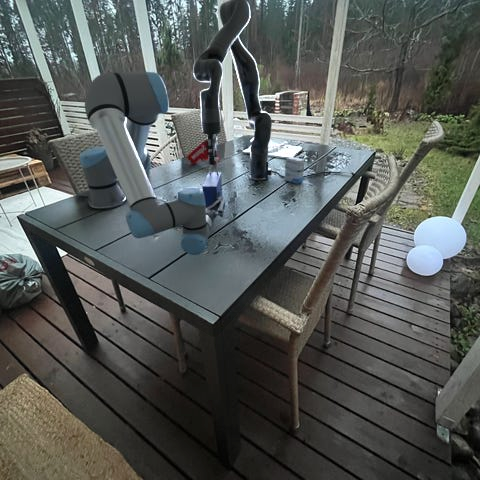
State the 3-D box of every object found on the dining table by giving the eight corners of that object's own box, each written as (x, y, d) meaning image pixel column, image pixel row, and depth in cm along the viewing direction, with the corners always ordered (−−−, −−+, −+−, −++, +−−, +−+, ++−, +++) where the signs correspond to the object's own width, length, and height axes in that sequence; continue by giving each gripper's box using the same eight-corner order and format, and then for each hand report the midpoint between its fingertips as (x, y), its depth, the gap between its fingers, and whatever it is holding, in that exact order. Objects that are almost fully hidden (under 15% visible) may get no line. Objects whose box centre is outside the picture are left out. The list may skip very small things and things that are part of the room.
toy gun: (224, 159, 165) (208, 138, 162) (221, 161, 162) (205, 139, 158) (204, 174, 175) (189, 154, 172) (201, 176, 172) (186, 156, 168)
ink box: (302, 181, 142) (305, 159, 136) (297, 184, 139) (300, 161, 133) (289, 177, 147) (291, 156, 141) (284, 180, 144) (285, 158, 138)
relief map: (291, 159, 177) (291, 151, 174) (243, 153, 190) (243, 145, 187) (302, 149, 197) (303, 142, 194) (258, 144, 211) (258, 137, 208)
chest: (210, 197, 127) (208, 175, 121) (222, 197, 127) (221, 175, 121) (204, 212, 113) (202, 189, 107) (217, 213, 113) (216, 189, 107)
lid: (209, 174, 122) (207, 155, 117) (221, 174, 121) (220, 155, 117) (202, 188, 107) (200, 167, 103) (216, 189, 107) (215, 167, 103)
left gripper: (176, 230, 96) (190, 202, 115) (228, 232, 95) (233, 203, 114) (173, 211, 92) (188, 186, 111) (228, 212, 91) (233, 186, 110)
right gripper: (204, 117, 112) (207, 157, 121) (197, 123, 100) (201, 167, 109) (222, 117, 112) (223, 157, 121) (218, 123, 100) (220, 167, 109)
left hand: (211, 195), depth 113 cm, fingers closed on chest, 6 cm apart
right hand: (213, 161), depth 115 cm, fingers open, 7 cm apart
